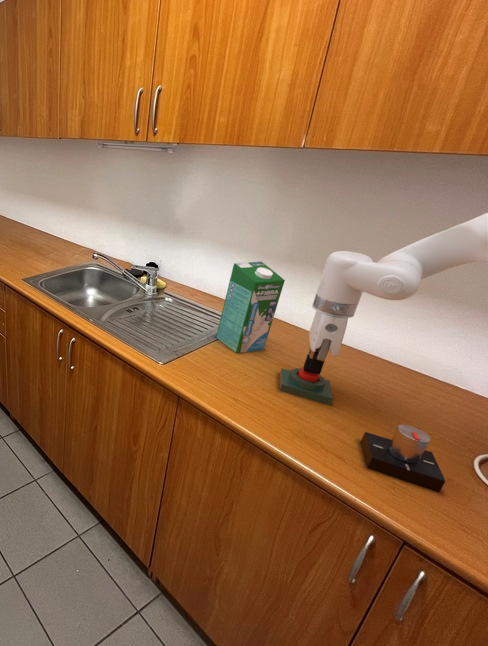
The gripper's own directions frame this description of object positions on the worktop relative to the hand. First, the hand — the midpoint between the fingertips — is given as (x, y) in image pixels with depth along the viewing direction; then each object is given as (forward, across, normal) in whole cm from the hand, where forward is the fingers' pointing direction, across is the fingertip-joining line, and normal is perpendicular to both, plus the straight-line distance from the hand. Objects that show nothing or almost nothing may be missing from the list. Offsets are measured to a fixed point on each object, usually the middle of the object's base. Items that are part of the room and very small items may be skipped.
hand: (311, 371), depth 98 cm
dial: (+3, -19, -14) cm, 24 cm away
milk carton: (+6, +16, +15) cm, 23 cm away
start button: (+2, 0, 0) cm, 2 cm away
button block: (+6, 0, 0) cm, 6 cm away
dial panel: (+6, -19, -14) cm, 24 cm away
